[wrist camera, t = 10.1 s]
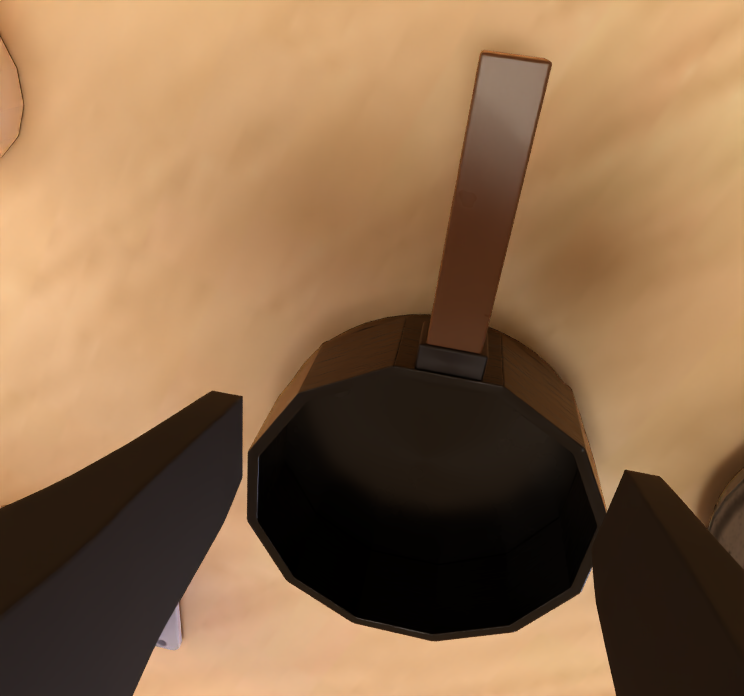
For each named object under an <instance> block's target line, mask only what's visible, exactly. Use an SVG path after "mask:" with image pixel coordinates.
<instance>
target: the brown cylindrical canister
mask: <svg viewBox="0 0 744 696" xmlns="http://www.w3.org/2000/svg"><path fill="white" fill-rule="evenodd" d="M708 530H709V532H710V533H711V534H712V535H713V536H714V537H715V538H716V539H717V541H718V542H719V543H720V544H721V545H722V546H723V547H724V548H725V549H726V551H727V552H728V553H729V554H730V555H731V556H732V557H733V558H734V559H735V560H736V562H737V563H738V564H739V565H740V566H741V567H742V568H743V569H744V468H743V469H742V470H741V471H740V472H739V473H738V474H737V475H736V476H735V477H734V478H733V479H732V480H731V481H730V482H729V483H728V484H727V486H726V488H725V489H724V491H723V492H722V494H721V495H720V497H719V500H718V504H717V505H715V508H714V511H713V514H712V517H711V520H710V524H709V527H708Z"/></svg>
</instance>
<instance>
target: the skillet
mask: <svg viewBox="0 0 744 696" xmlns="http://www.w3.org/2000/svg"><path fill="white" fill-rule="evenodd" d="M551 67H552V62H550V61H549V60H547V59H545V58H538V57H530V56H523V55H516V54H508V53H501V52H494V51H486V50H483V51H481V53H480V56H479V62H478V67H477V72H476V78H475V83H474V89H473V94H472V99H471V105H470V110H469V115H468V121H467V126H466V132H465V137H464V142H463V148H462V153H461V158H460V164H459V169H458V174H457V180H456V185H455V191H454V196H453V201H452V207H451V212H450V217H449V223H448V228H447V234H446V239H445V244H444V250H443V255H442V260H441V266H440V271H439V277H438V282H437V287H436V293H435V298H434V303H433V309H432V314H431V315H402V316H394V317H387V318H383V319H379V320H375V321H371V322H367V323H364V324H362V325H359V326H357V327H354V328H352V329H349V330H347V331H345V332H343V333H342V334H340V335H338V336H336V337H334V338H333V339H331V340H330V341H326V342H325V343H323V344H322V345H321V346H320V347H319V349H318V350H316V351H315V352H314V353H313V355H312V356H311V357H310V358H309V359H308V360H307V361H306V362H305V363H304V364H303V365H302V367H301V368H300V370H299V371H298V373H297V374H296V375H295V377H294V379H293V380H292V381H291V382H290V383H289V385H288V386H287V387H286V388H285V389H284V391H283V392H282V393H281V394H280V395H279V397H278V398H277V400H276V402H275V404H274V406H273V407H272V409H271V411H270V413H269V415H268V416H267V418H266V420H265V422H264V424H263V425H262V427H261V429H260V431H259V433H258V434H257V436H256V438H255V440H254V442H253V443H252V445H251V447H250V449H249V451H248V477H247V520H248V523H249V524H250V526H251V527H252V529H253V530H254V532H255V533H256V535H257V536H258V538H259V539H260V541H261V543H262V544H263V546H264V547H265V549H266V550H267V552H268V553H269V555H270V556H271V558H272V559H273V561H274V562H275V564H276V565H277V567H278V568H279V570H280V571H281V573H282V575H283V576H284V578H285V579H286V580H287V581H288V582H289V583H291V584H292V585H294V586H296V587H297V588H299V589H300V590H302V591H303V592H305V593H307V594H308V595H310V596H311V597H313V598H314V599H316V600H318V601H319V602H321V603H322V604H324V605H325V606H327V607H329V608H330V609H332V610H333V611H335V612H337V613H338V614H340V615H341V616H343V617H344V618H346V619H348V620H349V621H351V622H354V623H355V624H359V625H364V626H368V627H373V628H377V629H381V630H386V631H390V632H394V633H399V634H403V635H408V636H412V637H416V638H421V639H425V640H429V641H443V640H451V639H460V638H468V637H477V636H486V635H494V634H503V633H511V632H516V631H518V630H519V629H521V628H523V627H524V626H526V625H528V624H529V623H531V622H533V621H535V620H536V619H538V618H540V617H541V616H543V615H545V614H546V613H548V612H550V611H551V610H553V609H555V608H556V607H558V606H560V605H561V604H563V603H565V602H566V601H568V600H570V599H571V598H573V597H575V596H576V595H578V594H580V592H581V591H582V589H583V587H584V585H585V583H586V580H587V578H588V576H589V574H590V571H591V569H592V567H593V565H592V551H591V548H592V546H593V543H594V541H595V539H596V536H597V534H598V532H599V529H600V527H601V525H602V522H603V520H604V518H605V515H606V513H607V509H606V505H605V501H604V497H603V493H602V490H601V486H600V482H599V478H598V474H597V470H596V466H595V462H594V458H593V455H592V452H591V449H590V446H589V442H588V439H587V436H586V433H585V430H584V427H583V423H582V419H581V415H580V413H579V410H578V408H577V405H576V402H575V399H574V395H573V392H572V389H571V388H570V387H569V386H568V385H566V384H565V383H564V382H563V381H562V380H561V379H560V377H559V376H558V375H557V374H556V373H555V371H554V370H553V369H552V368H551V367H550V366H549V365H548V364H547V363H546V362H545V361H544V360H543V359H541V358H540V357H539V356H538V355H537V354H536V353H535V352H533V351H532V350H530V349H529V348H527V347H526V346H525V345H523V344H522V343H520V342H519V341H517V340H515V339H513V338H511V337H509V336H507V335H506V334H504V333H502V332H500V331H498V330H495V329H492V328H490V327H488V325H489V321H490V317H491V313H492V309H493V305H494V301H495V297H496V292H497V288H498V284H499V280H500V276H501V272H502V268H503V264H504V260H505V256H506V251H507V247H508V243H509V239H510V235H511V231H512V227H513V223H514V219H515V214H516V210H517V206H518V202H519V198H520V194H521V190H522V186H523V182H524V177H525V173H526V169H527V165H528V161H529V157H530V153H531V149H532V145H533V141H534V136H535V132H536V128H537V124H538V120H539V116H540V112H541V108H542V104H543V99H544V95H545V91H546V87H547V83H548V79H549V75H550V71H551Z"/></svg>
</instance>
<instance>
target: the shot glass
mask: <svg viewBox="0 0 744 696" xmlns="http://www.w3.org/2000/svg"><path fill="white" fill-rule="evenodd" d="M23 106H24V105H23V100H22V94H21V89H20V84H19V79H18V73H17V68H16V66H15V65H14V63H13V61H12V59H11V57H10V55H9V53H8V51H7V49H6V47H5V45H4V43H3V41H2V39H1V37H0V157H2V156H3V155H4V154H5V152H6V151H7V150H8V148H9V147H10V146H11V145H12V143H13V142H14V141H15V139H16V138H17V137H18V135H19V129H20V123H21V117H22V112H23Z"/></svg>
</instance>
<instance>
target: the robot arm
mask: <svg viewBox="0 0 744 696" xmlns="http://www.w3.org/2000/svg"><path fill="white" fill-rule="evenodd" d="M242 430H243V396H238V395H232V394H227V393H222V392H217V391H211V392H209V393H208V394H206V395H204V396H203V397H201V398H199V399H198V400H196V401H195V402H193V403H192V404H190V405H189V406H187V407H185V408H184V409H182V410H181V411H179V412H178V413H176V414H175V415H173V416H171V417H170V418H168V419H167V420H165V421H164V422H162V423H160V424H159V425H157V426H156V427H154V428H152V429H151V430H149V431H148V432H146V433H144V434H143V435H141V436H139V437H138V438H136V439H135V440H133V441H131V442H130V443H128V444H126V445H125V446H123V447H121V448H119V449H118V450H116V451H114V452H112V453H110V454H109V455H107V456H105V457H103V458H101V459H100V460H98V461H96V462H94V463H93V464H91V465H89V466H87V467H85V468H84V469H82V470H80V471H78V472H76V473H75V474H73V475H71V476H69V477H67V478H65V479H63V480H61V481H59V482H57V483H55V484H53V485H51V486H49V487H47V488H45V489H42V490H40V491H38V492H36V493H34V494H31V495H29V496H27V497H25V498H23V499H21V500H18V501H16V502H14V503H12V504H9V505H7V506H5V507H2V508H0V696H133V693H134V691H135V689H136V687H137V685H138V682H139V680H140V678H141V676H142V673H143V671H144V669H145V667H146V665H147V662H148V660H149V658H150V656H151V653H152V651H153V649H154V647H155V646H157V647H161V648H165V649H170V650H177V649H178V648H179V647H180V645H181V643H182V634H181V622H180V609H179V601H180V600H181V598H182V596H183V594H184V593H185V591H186V589H187V587H188V586H189V584H190V582H191V580H192V579H193V577H194V575H195V573H196V572H197V570H198V568H199V566H200V564H201V563H202V561H203V559H204V557H205V556H206V554H207V552H208V550H209V549H210V547H211V545H212V543H213V541H214V540H215V538H216V536H217V534H218V532H219V531H220V529H221V527H222V525H223V523H224V521H225V519H226V516H227V514H228V512H229V509H230V507H231V505H232V502H233V500H234V497H235V495H236V492H237V490H238V487H239V485H240V482H241V480H242ZM591 551H592V565H593V579H594V588H595V598H596V605H597V610H598V615H599V620H600V624H601V629H602V633H603V638H604V643H605V647H606V652H607V656H608V661H609V665H610V669H611V674H612V678H613V683H614V687H615V692H616V696H744V569H743V568H742V567H741V566H740V565H739V564H738V563H737V562H736V560H735V559H734V558H733V557H732V556H731V555H730V554H729V553H728V552H727V551H726V549H725V548H724V547H723V546H722V545H721V544H720V543H719V542H718V541H717V539H716V538H715V537H714V536H713V535H712V534H711V533H710V532H709V530H708V529H707V528H706V527H705V526H704V525H703V524H702V522H701V521H700V520H699V519H698V518H697V517H696V516H695V515H694V513H693V512H692V511H691V510H690V509H689V508H688V507H687V505H686V504H685V503H684V502H683V501H682V500H681V499H680V498H679V496H678V495H677V494H676V493H675V492H674V491H673V490H672V489H671V488H670V487H669V485H668V484H667V483H666V482H665V481H664V480H663V479H662V478H661V477H660V476H655V475H650V474H645V473H639V472H634V471H629V470H625V471H624V474H623V476H622V478H621V481H620V483H619V485H618V488H617V490H616V492H615V495H614V497H613V499H612V502H611V504H610V506H609V508H608V511H607V513H606V515H605V518H604V520H603V522H602V525H601V527H600V529H599V532H598V534H597V536H596V539H595V541H594V543H593V546H592V548H591Z"/></svg>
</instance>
